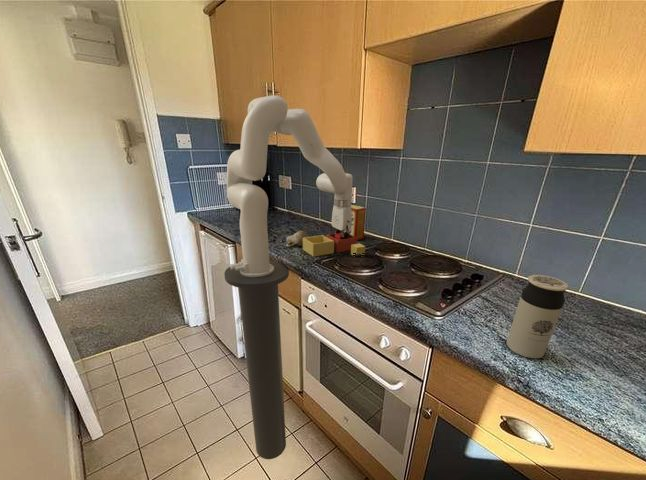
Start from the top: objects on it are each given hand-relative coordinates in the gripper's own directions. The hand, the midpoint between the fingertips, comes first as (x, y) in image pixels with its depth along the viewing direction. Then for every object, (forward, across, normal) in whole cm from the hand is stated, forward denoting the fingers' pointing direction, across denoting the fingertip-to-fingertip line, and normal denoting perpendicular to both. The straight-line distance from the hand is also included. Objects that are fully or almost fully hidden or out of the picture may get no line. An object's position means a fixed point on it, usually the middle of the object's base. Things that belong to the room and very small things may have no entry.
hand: (341, 242), depth 138 cm
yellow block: (+2, +12, +1) cm, 12 cm away
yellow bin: (+2, 0, -12) cm, 12 cm away
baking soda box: (+2, -11, +14) cm, 18 cm away
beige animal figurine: (+3, -12, -17) cm, 21 cm away
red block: (0, 0, 0) cm, 0 cm away
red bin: (+2, 0, 0) cm, 2 cm away
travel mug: (+3, +85, -1) cm, 85 cm away
